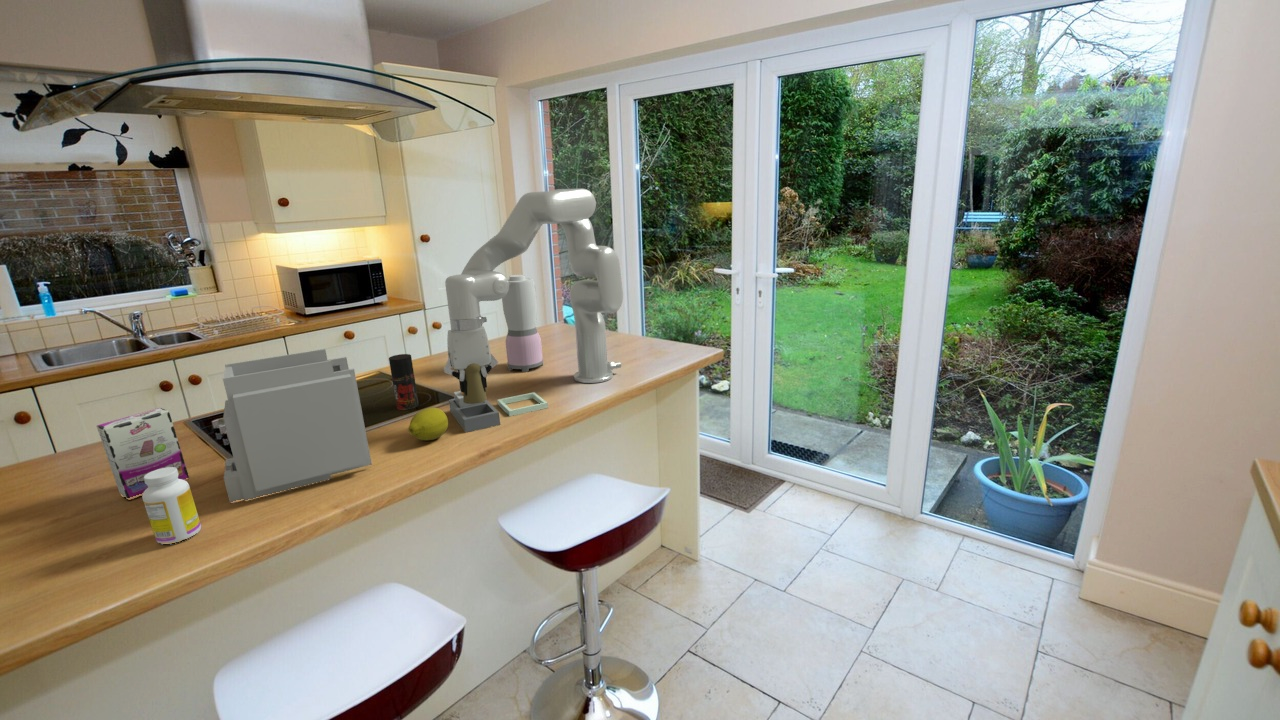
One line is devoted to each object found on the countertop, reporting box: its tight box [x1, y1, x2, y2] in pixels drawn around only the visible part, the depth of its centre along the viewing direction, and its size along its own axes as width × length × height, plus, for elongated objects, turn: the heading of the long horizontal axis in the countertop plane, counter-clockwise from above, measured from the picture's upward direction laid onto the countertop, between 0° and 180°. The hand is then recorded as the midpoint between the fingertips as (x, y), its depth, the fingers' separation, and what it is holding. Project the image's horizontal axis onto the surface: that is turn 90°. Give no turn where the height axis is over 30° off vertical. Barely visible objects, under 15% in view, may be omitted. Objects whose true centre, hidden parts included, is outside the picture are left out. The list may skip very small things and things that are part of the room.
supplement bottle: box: [141, 467, 202, 544], centre depth 104 cm, size 7×7×13 cm
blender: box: [501, 274, 544, 373], centre depth 199 cm, size 16×12×32 cm
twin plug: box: [453, 390, 484, 408], centre depth 160 cm, size 6×6×7 cm
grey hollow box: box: [448, 398, 501, 433], centre depth 157 cm, size 18×9×4 cm, turn 30°
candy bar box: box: [96, 407, 190, 498], centre depth 123 cm, size 11×5×16 cm, turn 148°
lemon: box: [408, 407, 449, 441], centre depth 143 cm, size 11×8×8 cm
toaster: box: [222, 348, 373, 503], centre depth 124 cm, size 17×27×26 cm, turn 123°
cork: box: [463, 363, 488, 404], centre depth 150 cm, size 6×6×11 cm
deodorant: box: [388, 353, 419, 411], centre depth 166 cm, size 6×6×15 cm
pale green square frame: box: [497, 391, 549, 417], centre depth 164 cm, size 11×11×2 cm
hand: (474, 391), depth 151 cm, fingers closed on cork, 3 cm apart
